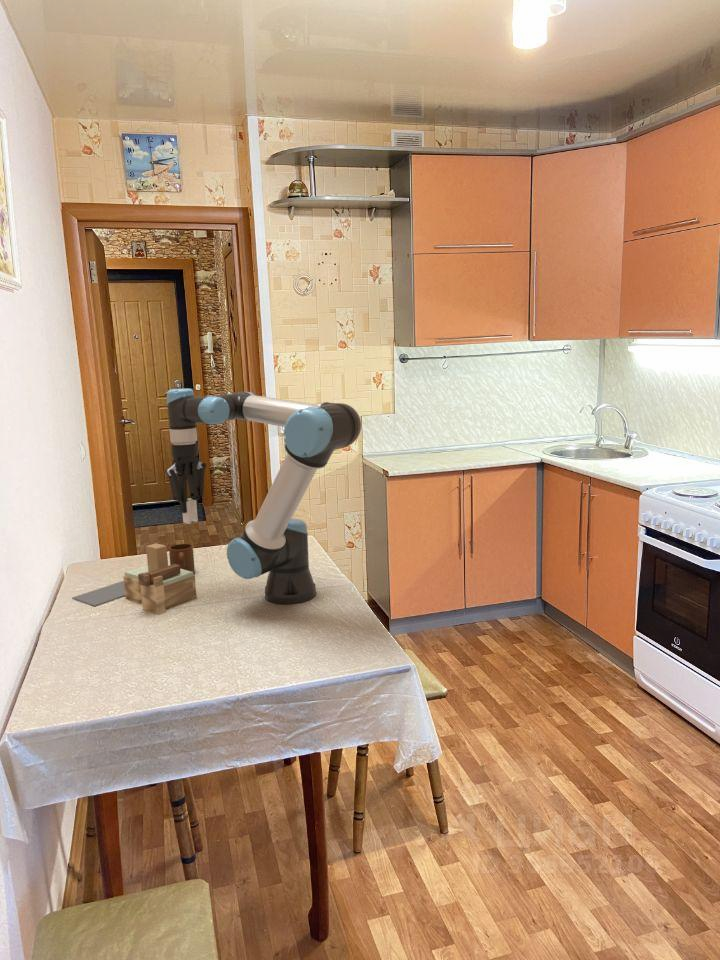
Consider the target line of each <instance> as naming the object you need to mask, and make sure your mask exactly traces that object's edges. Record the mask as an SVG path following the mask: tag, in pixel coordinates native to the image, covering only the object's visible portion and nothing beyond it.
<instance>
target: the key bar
mask: <svg viewBox="0 0 720 960" xmlns="http://www.w3.org/2000/svg"><path fill="white" fill-rule="evenodd" d="M180 573H181V571H180V565H177V564H173V565H170V564H169V565H168V566H166V567H163V568H160V569H157V570H154V571H151V572H148V573H146V574H145V573H140V574H138V580H139V585H143V586H146V587H147V586H150V585H151V584H150V583H153V578H155V577H158V576H163V579H166V578H169V577H172V576H175V575H177V574H180Z"/></svg>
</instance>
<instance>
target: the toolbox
mask: <svg viewBox="0 0 720 960" xmlns="http://www.w3.org/2000/svg"><path fill="white" fill-rule="evenodd" d="M146 573H148V572H145V574H146ZM122 577H123V581H124V587H125V596H124V598H125V600H129V601H132V602H134V603H138V604H141V605H142V610H144V611H147V612H150V613H152V614H156V615H161V614H164V613H166V611H167V610H170V609H172V608H175V607H177V606H180V605H184V604H185V603H188V602H190V601H193V600H196V599H198V598H197V584H196V575H194V574H193V576H192V577H189V578H186V579H183V580H180V581H177V582H175V583H172V584H169V585H166V586H163V576H158V577H155V578H153V583H150V584H151V585H150V586H147V587H146V586H143V585H139V580H137V579H133V578H130V577H126V576H125V575H124V576H122Z"/></svg>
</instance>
